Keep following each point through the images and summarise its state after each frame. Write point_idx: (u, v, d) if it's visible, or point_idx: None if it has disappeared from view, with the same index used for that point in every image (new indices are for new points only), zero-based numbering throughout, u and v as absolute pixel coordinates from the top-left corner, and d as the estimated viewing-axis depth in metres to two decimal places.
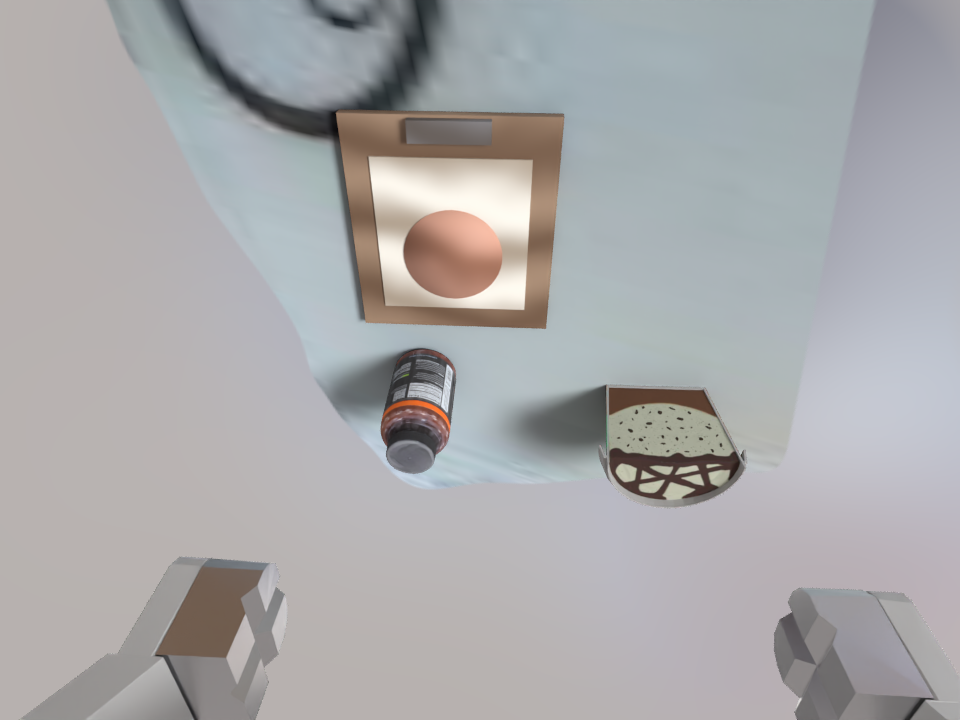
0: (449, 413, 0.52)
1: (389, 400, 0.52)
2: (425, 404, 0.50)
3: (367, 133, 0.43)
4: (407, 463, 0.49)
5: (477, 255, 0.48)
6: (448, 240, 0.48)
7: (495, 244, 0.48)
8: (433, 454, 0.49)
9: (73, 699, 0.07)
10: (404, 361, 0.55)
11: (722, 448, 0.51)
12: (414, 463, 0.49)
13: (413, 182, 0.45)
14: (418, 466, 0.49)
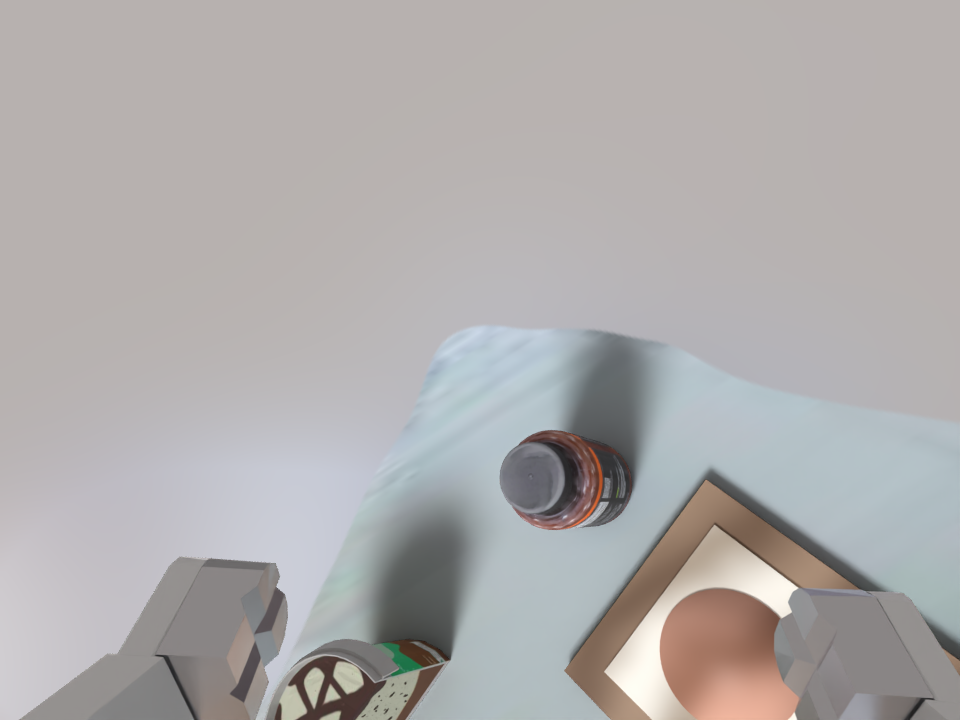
0: None
1: (606, 468, 0.36)
2: (579, 522, 0.35)
3: None
4: (525, 466, 0.34)
5: (710, 688, 0.36)
6: (753, 675, 0.35)
7: None
8: (517, 508, 0.34)
9: (72, 699, 0.07)
10: (627, 485, 0.40)
11: None
12: (519, 475, 0.34)
13: None
14: (512, 476, 0.34)
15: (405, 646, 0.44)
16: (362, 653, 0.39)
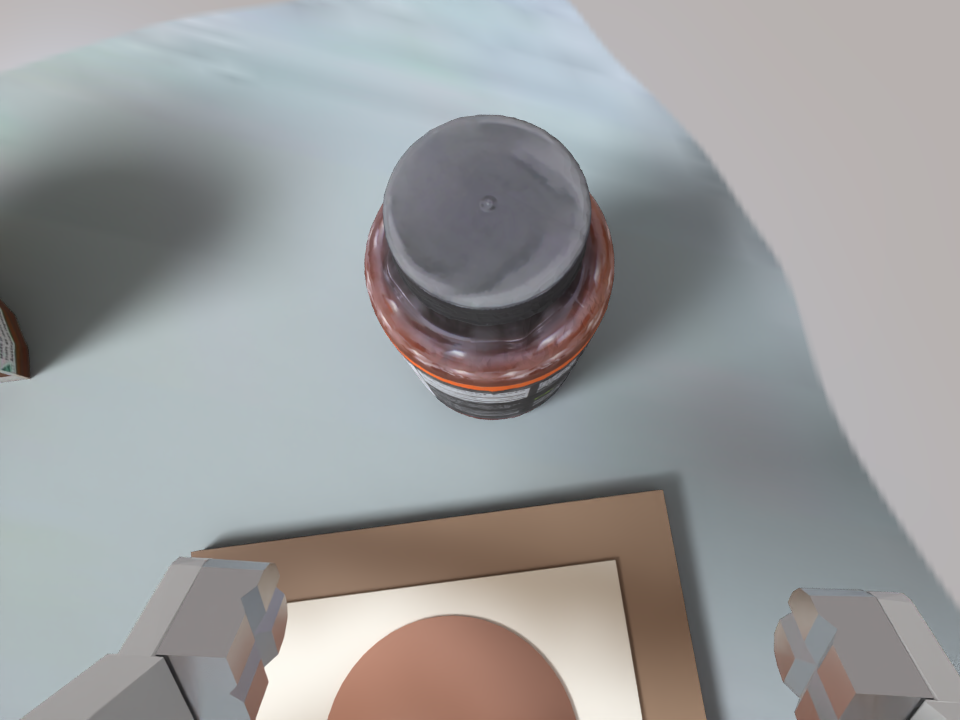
0: None
1: None
2: (463, 385, 0.14)
3: None
4: (495, 173, 0.11)
5: None
6: None
7: None
8: (388, 241, 0.11)
9: (73, 699, 0.07)
10: (552, 393, 0.20)
11: None
12: (465, 178, 0.11)
13: None
14: (445, 166, 0.11)
15: None
16: None
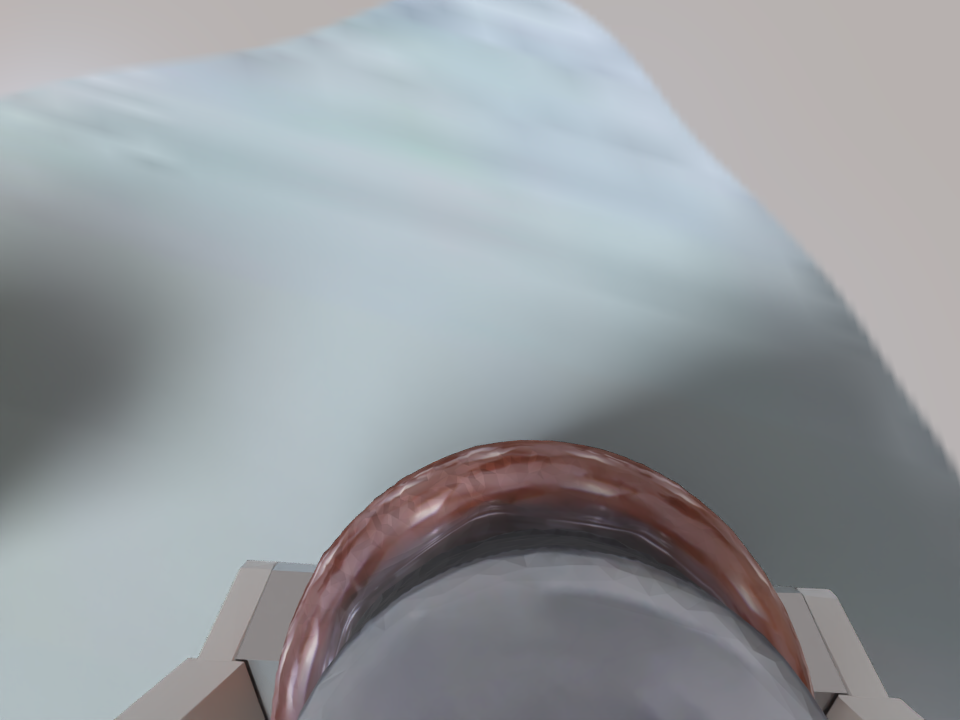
0: None
1: None
2: None
3: None
4: None
5: None
6: None
7: None
8: None
9: (158, 704, 0.07)
10: None
11: None
12: None
13: None
14: None
15: None
16: None
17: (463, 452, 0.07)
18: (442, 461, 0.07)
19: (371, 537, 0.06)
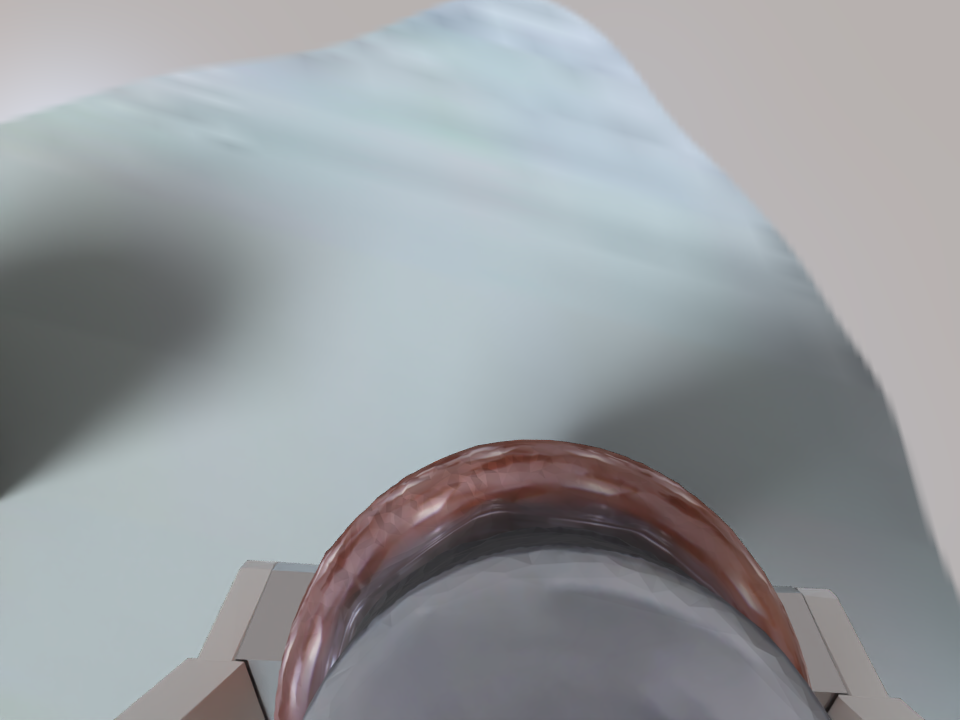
0: None
1: None
2: None
3: None
4: None
5: None
6: None
7: None
8: None
9: (158, 704, 0.07)
10: None
11: None
12: None
13: None
14: None
15: None
16: None
17: (465, 451, 0.07)
18: (444, 460, 0.07)
19: (374, 535, 0.06)
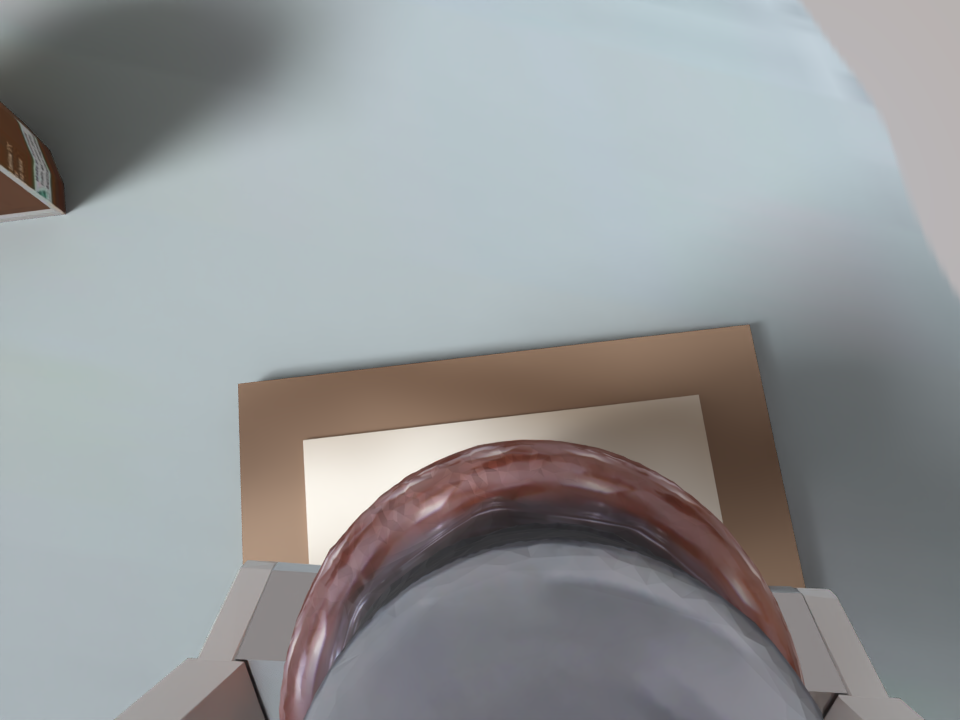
0: None
1: None
2: None
3: None
4: None
5: None
6: None
7: None
8: None
9: (158, 704, 0.07)
10: None
11: None
12: None
13: None
14: (455, 716, 0.04)
15: None
16: None
17: (466, 451, 0.07)
18: (446, 459, 0.07)
19: (377, 532, 0.07)
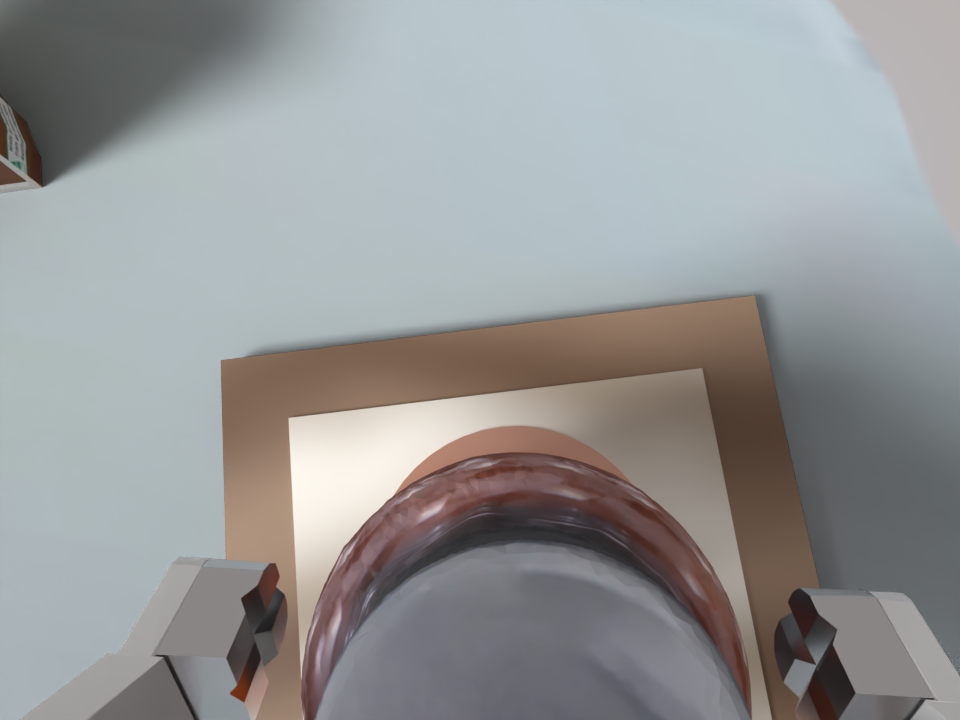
0: None
1: None
2: None
3: None
4: (552, 699, 0.05)
5: None
6: None
7: None
8: None
9: (73, 699, 0.07)
10: None
11: None
12: (486, 711, 0.05)
13: None
14: (445, 676, 0.05)
15: None
16: None
17: (461, 462, 0.08)
18: (443, 470, 0.08)
19: (384, 532, 0.08)
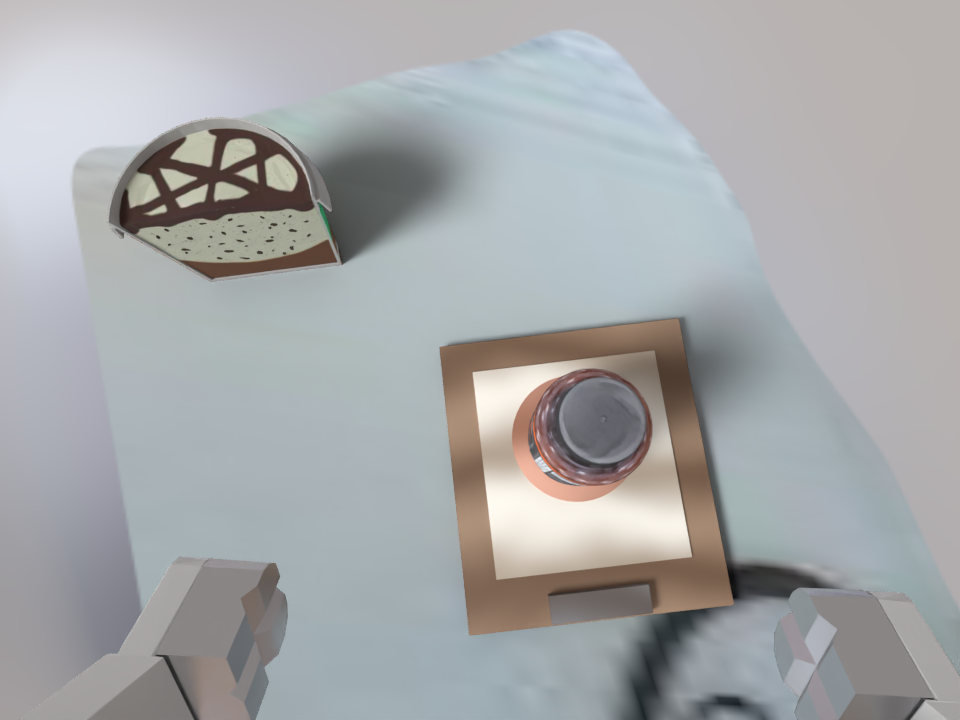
0: (536, 447, 0.32)
1: None
2: (579, 483, 0.30)
3: (694, 584, 0.36)
4: (606, 405, 0.27)
5: None
6: None
7: (523, 463, 0.38)
8: (561, 432, 0.27)
9: (73, 699, 0.07)
10: None
11: (154, 234, 0.35)
12: (594, 407, 0.27)
13: (635, 531, 0.37)
14: (586, 401, 0.27)
15: None
16: (312, 168, 0.34)
17: (576, 370, 0.30)
18: (571, 372, 0.30)
19: (558, 386, 0.30)
